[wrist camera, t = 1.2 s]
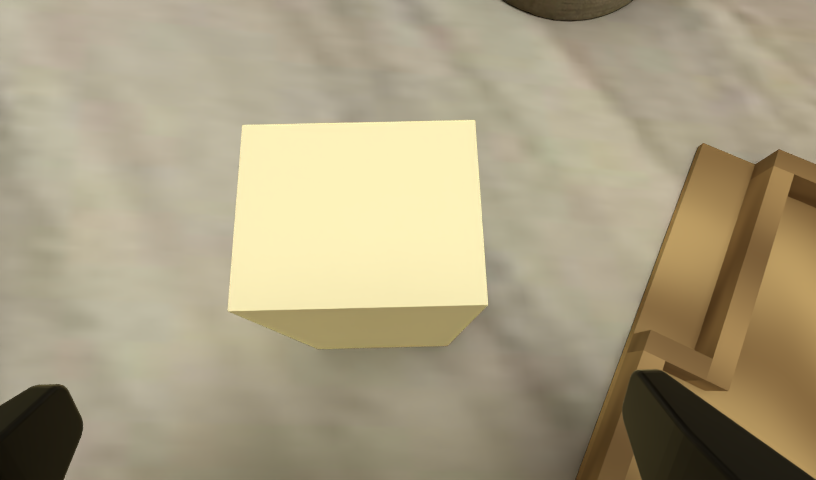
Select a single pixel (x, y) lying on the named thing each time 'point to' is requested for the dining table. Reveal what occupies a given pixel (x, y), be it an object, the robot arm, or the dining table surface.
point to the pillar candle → (569, 8)
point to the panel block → (359, 232)
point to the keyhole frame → (729, 308)
